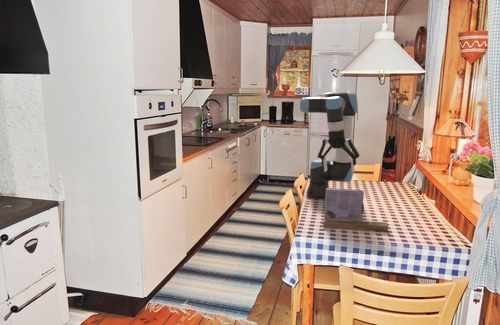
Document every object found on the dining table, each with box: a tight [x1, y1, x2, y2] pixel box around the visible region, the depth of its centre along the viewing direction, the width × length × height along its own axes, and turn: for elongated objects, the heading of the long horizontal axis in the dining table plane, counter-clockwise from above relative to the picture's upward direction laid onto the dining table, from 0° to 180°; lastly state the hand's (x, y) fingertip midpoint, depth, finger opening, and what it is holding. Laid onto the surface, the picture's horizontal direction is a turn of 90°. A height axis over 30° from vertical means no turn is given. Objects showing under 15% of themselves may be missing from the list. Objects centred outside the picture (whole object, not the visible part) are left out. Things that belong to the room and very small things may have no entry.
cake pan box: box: [323, 187, 365, 221], centre depth 186 cm, size 19×5×18 cm, turn 82°
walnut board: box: [322, 217, 389, 233], centre depth 182 cm, size 5×30×3 cm, turn 80°
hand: (339, 171), depth 185 cm, fingers open, 13 cm apart
